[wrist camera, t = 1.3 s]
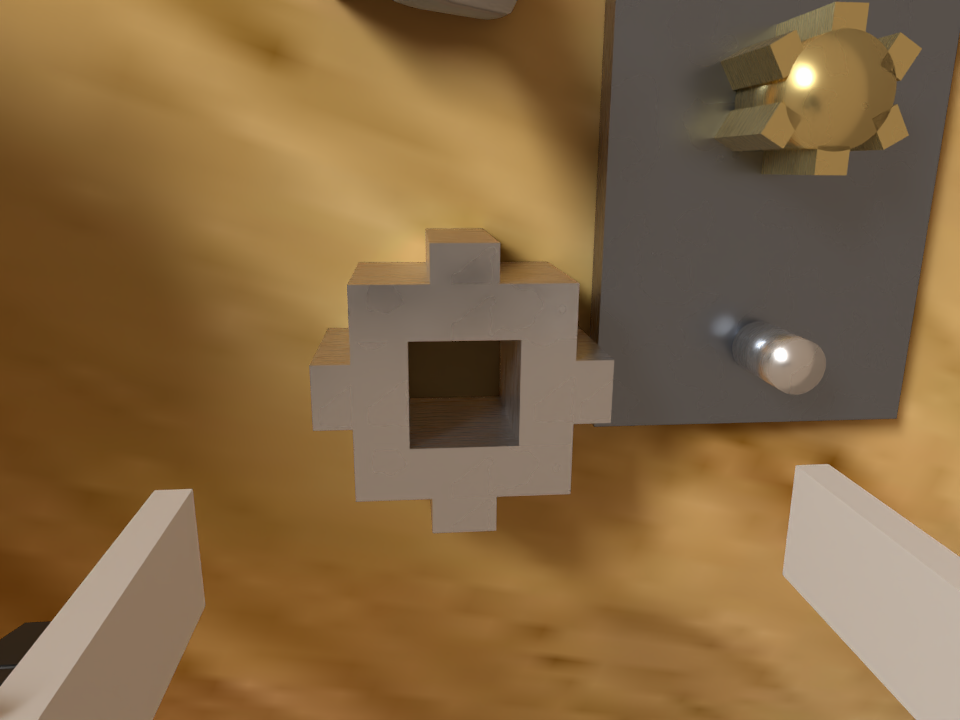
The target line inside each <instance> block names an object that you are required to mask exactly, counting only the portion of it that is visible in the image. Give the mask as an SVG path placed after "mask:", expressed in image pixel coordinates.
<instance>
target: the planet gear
mask: <svg viewBox="0 0 960 720" xmlns="http://www.w3.org/2000/svg"><path fill="white" fill-rule="evenodd" d="M347 295H348V320H349V328H334V329H327V331H326V333H325V335H324V337H323V339H322V341H321V343H320V345H319V347H318V349H317V351H316V353H315V355H314V357H313V359H312V361H311V363H310V365H309V367H310V385H311V403H312V422H313V431H326V430H353V444H354V469H355V494H356V502H362V501H390V500H418V499H430V501H431V516H432V531H433V533H451V532H475V531H496V509H497V497H502V496H530V495H558V494H570V492H571V469H572V446H573V424H592V423H611V409H612V392H613V374H614V359H613V358H611V357H610V356H609V355H608V354H607V353H606V352H605V351H604V350H603V349H602V348H601V347H600V346H599V345H598V344H596V343H595V342H594V341H593V340H592V339H591V338H590V337H589V336H588V335H587V334H586V333H585V332H584V331H583V330H581V329H580V328H579V327H578V305H579V283H578V282H577V281H575V280H574V279H572V278H571V277H569V276H568V275H566V274H565V273H564V272H562V271H561V270H559V269H558V268H556V267H555V266H553V265H552V264H550V263H549V262H500V242H498V241H497V240H496V239H495V238H494V237H492V236H491V235H490V234H489V233H487V232H486V231H485V230H484V229H426V262H391V263H358V265H357V267H356V269H355V271H354V273H353V275H352V277H351V279H350V280H349V282H348V284H347ZM484 340H500V379H499V396H490V397H446V398H409V350H408V342H418V341H484Z"/></svg>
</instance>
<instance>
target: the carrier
mask: <svg viewBox="0 0 960 720" xmlns="http://www.w3.org/2000/svg"><path fill="white" fill-rule="evenodd" d="M959 33H960V0H606V3H605V25H604V46H603V67H602V88H601V109H600V131H599V152H598V173H597V194H596V215H595V237H594V258H593V279H592V300H591V321H590V338H591V339H592V340H593V341H594V342H595V343H596V344H598V345H599V346H600V347H601V348H602V349H603V350H604V351H605V352H606V353H607V354H608V355H609V356H610V357H611V358H613V359H614V374H613V392H612V409H611V423H592V424H593V426H594V427H598V426H635V425H673V424H710V423H747V422H785V421H822V420H860V419H896V418H897V412H898V406H899V400H900V394H901V388H902V382H903V375H904V369H905V363H906V357H907V351H908V345H909V339H910V333H911V327H912V320H913V314H914V308H915V302H916V296H917V290H918V284H919V278H920V271H921V265H922V259H923V253H924V247H925V241H926V235H927V229H928V223H929V216H930V210H931V204H932V198H933V192H934V186H935V180H936V174H937V168H938V161H939V155H940V149H941V143H942V137H943V131H944V125H945V119H946V112H947V106H948V100H949V94H950V88H951V82H952V76H953V70H954V64H955V57H956V51H957V45H958V39H959Z"/></svg>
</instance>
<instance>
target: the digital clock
mask: <svg viewBox="0 0 960 720" xmlns="http://www.w3.org/2000/svg"><path fill="white" fill-rule="evenodd" d="M393 1H395V2H398V3H401V4H404V5H407V6H410V7H414V8H418V9H423V10H429V11H435V12H441V13H447V14H453V15H459V16H465V17H471V18H478V19H485V20H490V19H497V18H501V17H503V16H506V15H507V14H510V13H511V12H512V10H513V8H514V6H515V4H516V2H517V0H393Z"/></svg>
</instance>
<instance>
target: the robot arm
mask: <svg viewBox="0 0 960 720" xmlns="http://www.w3.org/2000/svg"><path fill="white" fill-rule="evenodd" d="M783 576H784V577H785V578H786V579H787V580H788V581H789V582H790V583H791V584H792V586H793V587H794V588H795V589H796V590H797V591H798V592H799V593H800V594H801V595H802V596H803V597H804V599H805V600H806V601H807V602H808V603H809V604H810V605H811V606H812V607H813V608H814V609H815V611H816V612H817V613H818V614H819V615H820V616H821V617H822V618H823V619H824V620H825V621H826V622H827V624H828V625H829V626H830V627H831V628H832V629H833V630H834V631H835V632H836V633H837V634H838V636H839V637H840V638H841V639H842V640H843V641H844V642H845V643H846V644H847V645H848V646H849V647H850V649H851V650H852V651H853V652H854V653H855V654H856V655H857V656H858V657H859V658H860V659H861V661H862V662H863V663H864V664H865V665H866V666H867V667H868V668H869V669H870V670H871V671H872V672H873V674H874V675H875V676H876V677H877V678H878V679H879V680H880V681H881V682H882V683H883V684H884V686H885V687H886V688H887V689H888V690H889V691H890V692H891V693H892V694H893V695H894V696H895V697H896V699H897V700H898V701H899V702H900V703H901V704H902V705H903V706H904V707H905V708H906V709H907V710H908V712H909V713H910V714H911V715H912V716H913V717H914V718H915V719H916V720H960V557H959V556H958V555H956V554H955V553H953V552H952V551H951V550H949V549H948V548H946V547H945V546H944V545H942V544H941V543H939V542H938V541H936V540H935V539H934V538H932V537H931V536H929V535H928V534H927V533H925V532H924V531H922V530H921V529H919V528H918V527H917V526H915V525H914V524H912V523H911V522H910V521H908V520H907V519H905V518H904V517H902V516H901V515H900V514H898V513H897V512H895V511H894V510H893V509H891V508H890V507H888V506H887V505H885V504H884V503H883V502H881V501H880V500H878V499H877V498H876V497H874V496H873V495H871V494H870V493H868V492H867V491H866V490H864V489H863V488H861V487H860V486H858V485H857V484H856V483H854V482H853V481H851V480H850V479H849V478H847V477H846V476H844V475H843V474H841V473H840V472H839V471H837V470H836V469H834V468H833V467H832V466H830V465H829V464H819V465H796V468H795V476H794V484H793V493H792V501H791V509H790V517H789V525H788V534H787V542H786V550H785V558H784V567H783ZM205 606H206V605H205V596H204V587H203V578H202V569H201V560H200V551H199V542H198V533H197V523H196V514H195V505H194V496H193V489H176V490H154V492H153V493H152V494H151V495H150V497H149V498H148V499H147V501H146V502H145V503H144V504H143V506H142V507H141V508H140V509H139V511H138V512H137V513H136V514H135V516H134V517H133V518H132V520H131V521H130V522H129V523H128V525H127V526H126V527H125V528H124V530H123V531H122V532H121V534H120V535H119V536H118V537H117V539H116V540H115V541H114V542H113V544H112V545H111V546H110V548H109V549H108V550H107V551H106V553H105V554H104V555H103V556H102V558H101V559H100V560H99V562H98V563H97V564H96V565H95V567H94V568H93V569H92V570H91V572H90V573H89V574H88V576H87V577H86V578H85V579H84V581H83V582H82V583H81V584H80V586H79V587H78V588H77V590H76V591H75V592H74V593H73V595H72V596H71V597H70V598H69V600H68V601H67V602H66V604H65V605H64V606H63V607H62V609H61V610H60V611H59V612H58V614H57V615H56V616H55V618H54V619H53V620H52V621H48V622H30V623H24V624H23V625H21V626H20V627H18V628H17V629H15V630H14V631H12V632H11V633H9V634H8V635H6V636H5V637H3V638H2V639H0V720H153V718H154V716H155V714H156V711H157V709H158V707H159V705H160V703H161V701H162V698H163V696H164V694H165V692H166V690H167V688H168V685H169V683H170V681H171V679H172V677H173V675H174V673H175V670H176V668H177V666H178V664H179V662H180V660H181V657H182V655H183V653H184V651H185V649H186V647H187V644H188V642H189V640H190V638H191V636H192V634H193V631H194V629H195V627H196V625H197V623H198V621H199V618H200V616H201V614H202V612H203V610H204V608H205Z"/></svg>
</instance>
